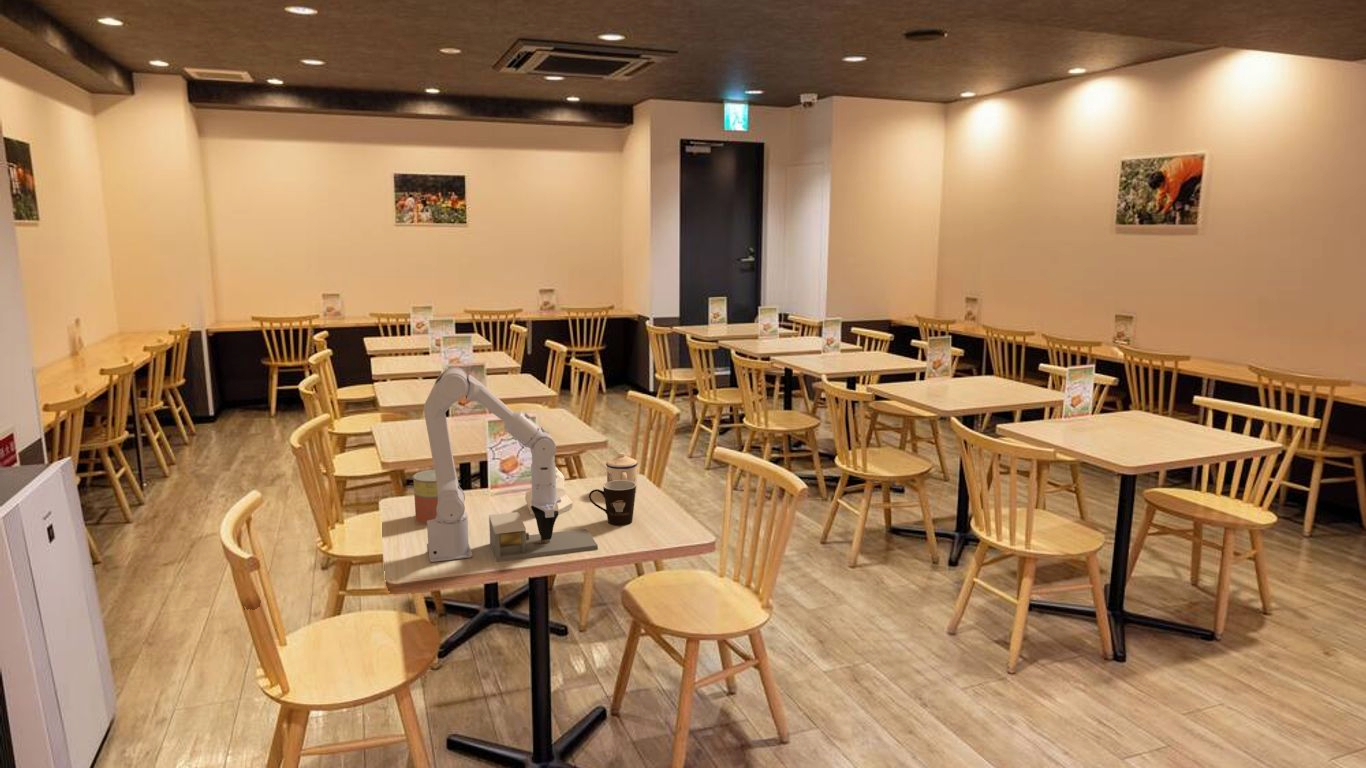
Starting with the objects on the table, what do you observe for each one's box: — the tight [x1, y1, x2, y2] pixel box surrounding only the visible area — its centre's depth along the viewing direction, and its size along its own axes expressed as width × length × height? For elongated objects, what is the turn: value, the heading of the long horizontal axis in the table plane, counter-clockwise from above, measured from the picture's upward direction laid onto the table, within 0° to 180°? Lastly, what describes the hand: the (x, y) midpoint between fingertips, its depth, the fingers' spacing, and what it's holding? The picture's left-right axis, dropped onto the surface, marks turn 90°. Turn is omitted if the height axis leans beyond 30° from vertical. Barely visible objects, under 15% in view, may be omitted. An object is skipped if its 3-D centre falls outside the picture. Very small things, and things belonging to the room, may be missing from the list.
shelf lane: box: [488, 511, 599, 562], centre depth 207 cm, size 24×12×7 cm, turn 109°
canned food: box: [412, 468, 458, 527], centre depth 226 cm, size 11×11×12 cm
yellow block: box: [500, 531, 550, 546], centre depth 206 cm, size 12×5×5 cm, turn 109°
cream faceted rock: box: [524, 466, 574, 516], centre depth 234 cm, size 12×15×14 cm
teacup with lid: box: [605, 452, 638, 494], centre depth 248 cm, size 12×9×12 cm
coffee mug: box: [588, 480, 637, 527], centre depth 225 cm, size 12×9×10 cm
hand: (545, 536), depth 208 cm, fingers open, 3 cm apart
